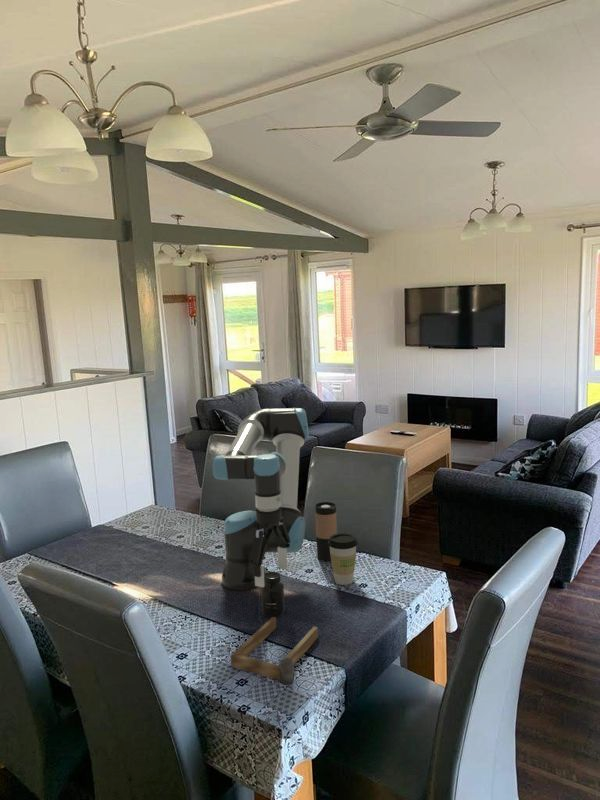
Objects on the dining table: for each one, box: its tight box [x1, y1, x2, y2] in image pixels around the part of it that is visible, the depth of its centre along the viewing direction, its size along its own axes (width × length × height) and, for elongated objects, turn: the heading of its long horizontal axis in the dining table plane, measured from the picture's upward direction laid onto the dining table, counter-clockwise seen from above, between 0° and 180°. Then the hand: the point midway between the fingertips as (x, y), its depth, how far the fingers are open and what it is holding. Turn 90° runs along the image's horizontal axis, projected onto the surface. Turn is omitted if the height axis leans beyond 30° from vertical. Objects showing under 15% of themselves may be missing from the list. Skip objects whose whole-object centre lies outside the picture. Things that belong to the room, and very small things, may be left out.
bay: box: [230, 617, 319, 685], centre depth 154 cm, size 17×22×5 cm
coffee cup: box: [328, 532, 359, 586], centre depth 194 cm, size 10×10×15 cm
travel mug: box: [314, 501, 338, 563], centre depth 213 cm, size 8×8×20 cm
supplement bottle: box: [260, 571, 285, 619], centre depth 175 cm, size 7×7×12 cm
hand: (271, 576), depth 174 cm, fingers open, 13 cm apart
